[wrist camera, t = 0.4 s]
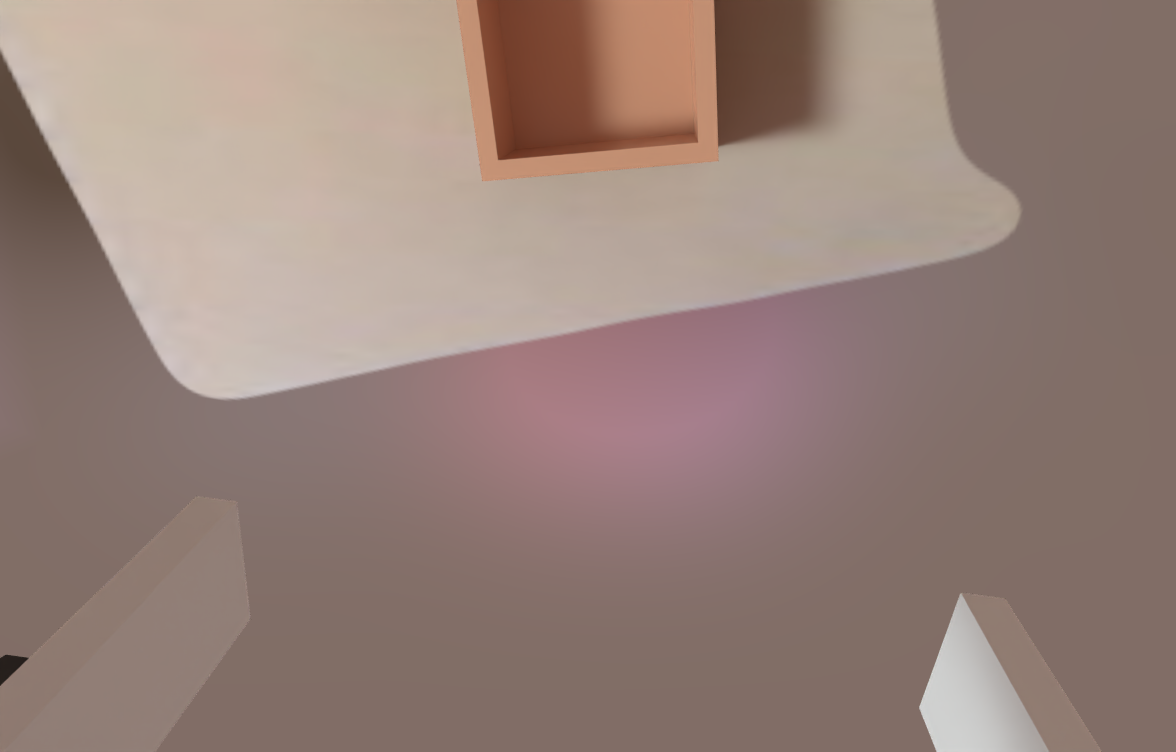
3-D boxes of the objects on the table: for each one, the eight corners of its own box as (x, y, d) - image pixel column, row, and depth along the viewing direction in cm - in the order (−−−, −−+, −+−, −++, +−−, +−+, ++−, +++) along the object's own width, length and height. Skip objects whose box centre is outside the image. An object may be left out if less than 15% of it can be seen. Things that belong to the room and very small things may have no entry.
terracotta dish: (473, -68, 33) (443, -88, 29) (703, -96, 32) (710, -123, 27) (504, 166, 37) (482, 181, 32) (710, 147, 36) (718, 161, 31)
